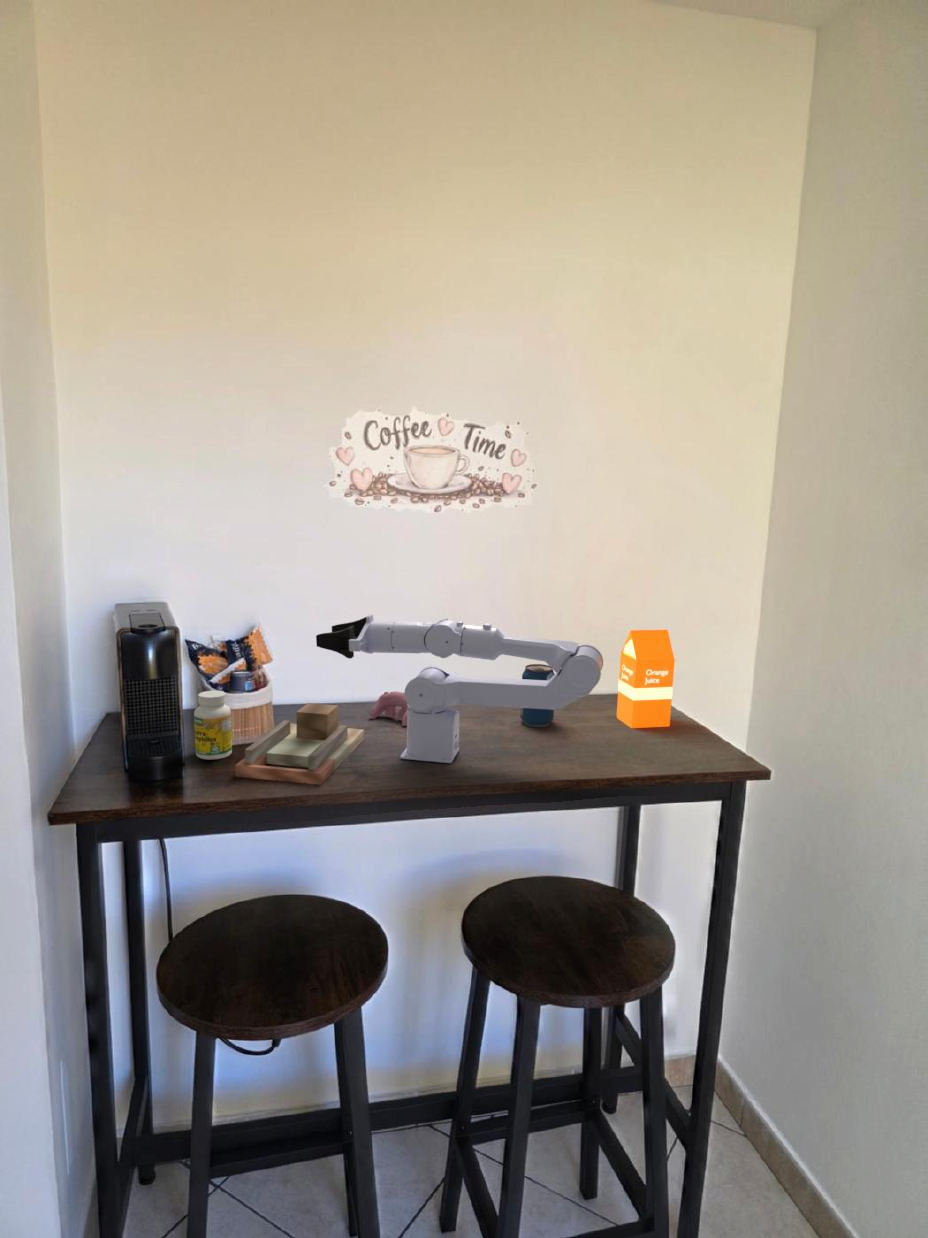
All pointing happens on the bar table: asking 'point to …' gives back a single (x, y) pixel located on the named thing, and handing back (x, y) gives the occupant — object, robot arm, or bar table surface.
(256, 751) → the channel deck
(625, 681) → the orange juice
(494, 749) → the bar table surface
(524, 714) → the soda can
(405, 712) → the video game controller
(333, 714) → the walnut block
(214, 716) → the supplement bottle
